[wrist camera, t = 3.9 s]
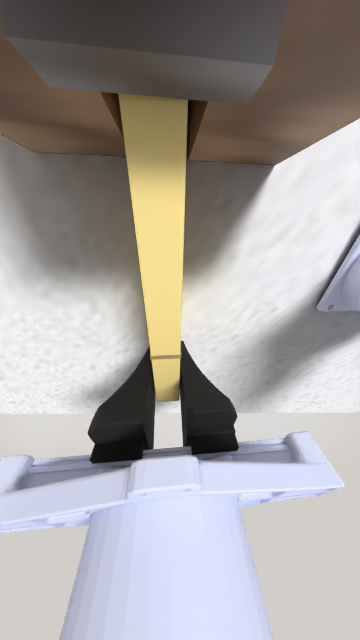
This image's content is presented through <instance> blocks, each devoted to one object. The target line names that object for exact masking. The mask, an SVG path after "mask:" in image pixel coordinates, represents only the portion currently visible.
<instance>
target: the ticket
mask: <svg viewBox="0 0 360 640" xmlns="http://www.w3.org/2000/svg"><path fill="white" fill-rule="evenodd" d="M118 94H119V102H120V110H121V118H122V126H123V135H124V143H125V151H126V159H127V167H128V175H129V183H130V191H131V199H132V207H133V215H134V223H135V231H136V239H137V247H138V255H139V263H140V271H141V279H142V287H143V295H144V303H145V312H146V320H147V328H148V336H149V344H150V352H151V353H150V359H151V360H152V368H153V376H154V384H155V392H156V400H157V402H161V401H177V400H179V383H180V359H181V316H182V282H183V248H184V215H185V181H186V148H187V114H188V99H177V98H166V97H154V96H143V95H131V94H120V93H118Z"/></svg>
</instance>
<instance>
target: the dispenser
mask: <svg viewBox="0 0 360 640" xmlns="http://www.w3.org/2000/svg"><path fill="white" fill-rule="evenodd" d="M118 93H120V94H131V95H143V96H154V97H166V98H177V99H189V100H191V111H190V139H189V160H194V161H211V162H229V163H247V164H264V165H277V164H278V163H280V162H282V161H284V160H285V159H287V158H289V157H291V156H293V155H294V154H296V153H298V152H300V151H302V150H303V149H305V148H307V147H309V146H311V145H312V144H314V143H316V142H318V141H320V140H321V139H323V138H325V137H327V136H329V135H330V134H332V133H334V132H336V131H338V130H339V129H341V128H343V127H345V126H347V125H348V124H350V123H352V122H354V121H355V120H357V119H359V118H360V0H0V134H2V135H3V136H5V137H7V138H9V139H11V140H13V141H14V142H16V143H18V144H20V145H22V146H24V147H25V148H27V149H29V150H31V151H35V152H52V153H70V154H88V155H105V156H123V157H126V151H125V143H124V135H123V126H122V118H121V110H120V102H119V94H118Z"/></svg>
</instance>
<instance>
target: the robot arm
mask: <svg viewBox="0 0 360 640" xmlns="http://www.w3.org/2000/svg"><path fill="white" fill-rule="evenodd" d="M317 309H318V310H319V311H321V312H331V311H360V234H359V236H358V238H357V239H356V241H355V243H354V244H353V246H352V248H351V250H350V251H349V253H348V255H347V256H346V258H345V260H344V261H343V263H342V265H341V266H340V268H339V270H338V271H337V273H336V275H335V277H334V278H333V280H332V282H331V283H330V285H329V287H328V288H327V290H326V292H325V293H324V295H323V297H322V298H321V300H320V302H319V303H318V305H317ZM150 353H151V352H150V345H149V347H148V350H147V351H146V353H145V355H144V357H143V359H142V360H141V362H140V363H139V365H138V366H137V368H136V369H135V371H134V372H133V373H132V374H131V376H130V377H129V378H128V379H127V380H126V382H125V383H124V384H123V385H122V386H121V387H120V388H119V389H118V390H117V391H116V392H115V393H114V394H113V395H112V396H111V397H110V398H109V399H108V400H106V401H105V402H104V403H103V404H102V405H101V406H99V408H98V410H97V411H96V413H95V416H94V417H93V420H92V422H91V425H90V427H89V430H88V435H89V437H90V438H91V439H92V441H93V442H94V443H95V446H94V448H93V452H92V454H91V455H82V456H70V457H58V458H47V459H35V460H34V458H33V457H31V456H29V455H16V456H4V457H3V458H1V460H0V533H6V532H16V531H25V530H37V529H49V528H61V527H72V526H85V525H89V528H88V532H87V535H86V539H85V544H84V547H83V551H82V555H81V559H80V562H79V566H78V570H77V574H76V578H75V582H74V585H73V589H72V593H71V597H70V601H69V605H68V609H67V613H66V616H65V620H64V624H63V628H62V631H61V636H60V639H59V640H274V639H273V635H272V632H271V628H270V624H269V620H268V616H267V612H266V608H265V604H264V600H263V597H262V593H261V589H260V585H259V581H258V577H257V573H256V570H255V565H254V561H253V558H252V554H251V550H250V546H249V543H248V538H247V534H246V531H245V527H244V522H243V519H242V515H241V511H240V507H245V506H250V505H257V504H263V503H270V502H275V501H282V500H288V499H295V498H302V497H310V496H319V495H322V494H325V493H328V492H331V491H334V490H337V489H339V488H342V487H344V483H343V482H342V480H341V479H340V478H339V476H338V475H337V473H336V472H335V470H334V469H333V467H332V466H331V464H330V463H329V461H328V460H327V458H326V457H325V456H324V454H323V453H322V451H321V450H320V448H319V447H318V446H317V444H316V442H315V441H314V439H313V438H312V437H311V435H310V434H309V432H295V433H290V434H288V435H286V437H285V438H283V439H270V440H258V441H246V442H237V439H236V436H235V429H234V423H235V421H236V419H237V414H236V411H235V408H234V406H233V404H232V403H231V401H230V399H229V398H228V397H226V396H225V395H224V394H223V393H222V392H221V391H219V390H218V389H217V388H216V387H215V386H214V385H213V384H212V383H211V382H210V381H209V380H208V379H207V378H206V377H205V375H204V374H203V373H202V372H201V371H200V369H199V368H198V367H197V365H196V364H195V362H194V361H193V359H192V358H191V356H190V354H189V353H188V351H187V349H186V347H185V344H184V342H183V341H181V359H180V383H179V388H180V398H181V414H182V432H183V447H176V448H165V449H153V444H154V416H155V395H156V392H155V384H154V376H153V368H152V360H151V359H150Z"/></svg>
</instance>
